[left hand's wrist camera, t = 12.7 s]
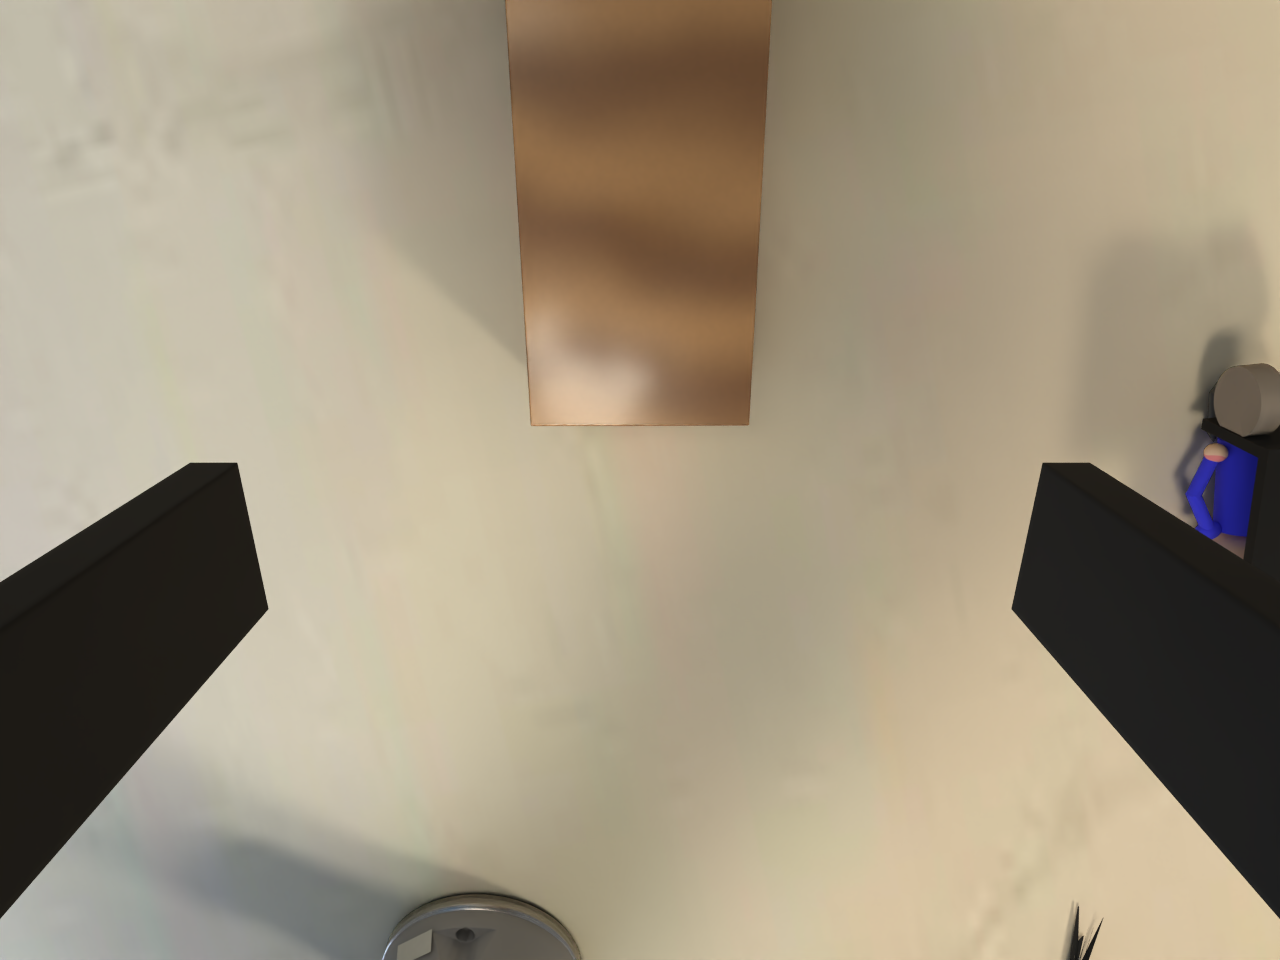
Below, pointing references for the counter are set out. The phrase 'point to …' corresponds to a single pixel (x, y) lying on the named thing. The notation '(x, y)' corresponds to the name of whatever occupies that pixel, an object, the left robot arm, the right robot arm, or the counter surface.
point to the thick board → (639, 205)
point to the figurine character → (1243, 466)
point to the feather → (1077, 944)
